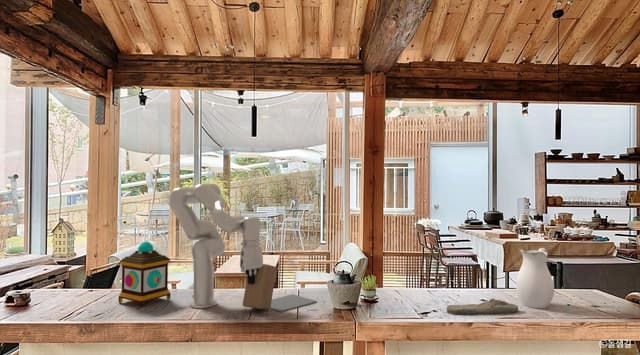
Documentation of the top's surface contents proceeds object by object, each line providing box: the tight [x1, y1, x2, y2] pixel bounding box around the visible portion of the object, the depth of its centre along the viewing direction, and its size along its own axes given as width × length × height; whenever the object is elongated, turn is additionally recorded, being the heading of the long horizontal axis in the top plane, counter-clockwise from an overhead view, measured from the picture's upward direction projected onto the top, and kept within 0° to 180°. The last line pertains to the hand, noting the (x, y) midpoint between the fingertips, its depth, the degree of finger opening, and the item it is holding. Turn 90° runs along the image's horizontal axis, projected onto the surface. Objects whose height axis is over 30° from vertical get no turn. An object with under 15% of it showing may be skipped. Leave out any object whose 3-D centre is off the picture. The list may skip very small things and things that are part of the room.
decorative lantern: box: [117, 240, 171, 309], centre depth 206 cm, size 20×20×30 cm
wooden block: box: [242, 263, 277, 311], centre depth 195 cm, size 10×10×20 cm
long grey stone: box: [446, 298, 519, 315], centre depth 195 cm, size 35×5×10 cm
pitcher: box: [515, 247, 555, 309], centre depth 209 cm, size 24×17×28 cm
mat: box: [269, 293, 318, 313], centre depth 205 cm, size 18×24×1 cm
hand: (251, 283), depth 189 cm, fingers closed
